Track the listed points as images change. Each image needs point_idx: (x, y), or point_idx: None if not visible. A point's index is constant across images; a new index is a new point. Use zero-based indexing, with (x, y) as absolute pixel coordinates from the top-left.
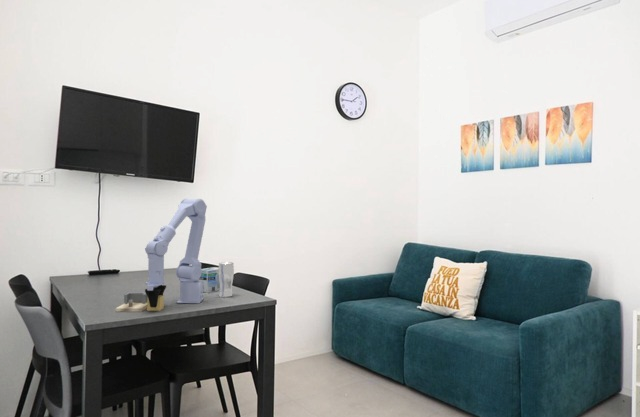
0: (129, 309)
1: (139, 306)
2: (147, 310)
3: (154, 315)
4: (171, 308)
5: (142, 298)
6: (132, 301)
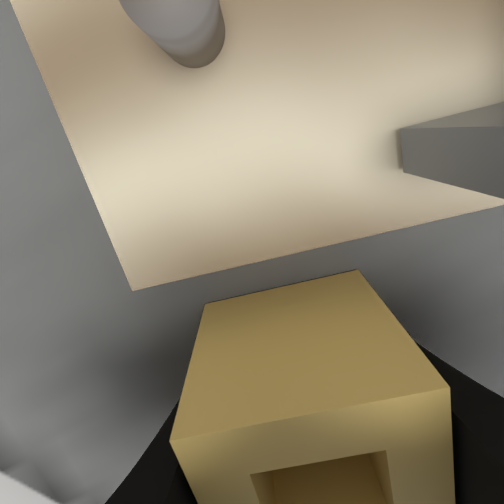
0: (69, 115)
1: (226, 192)
2: (207, 307)
3: (58, 456)
4: None
5: (450, 138)
6: (183, 46)
